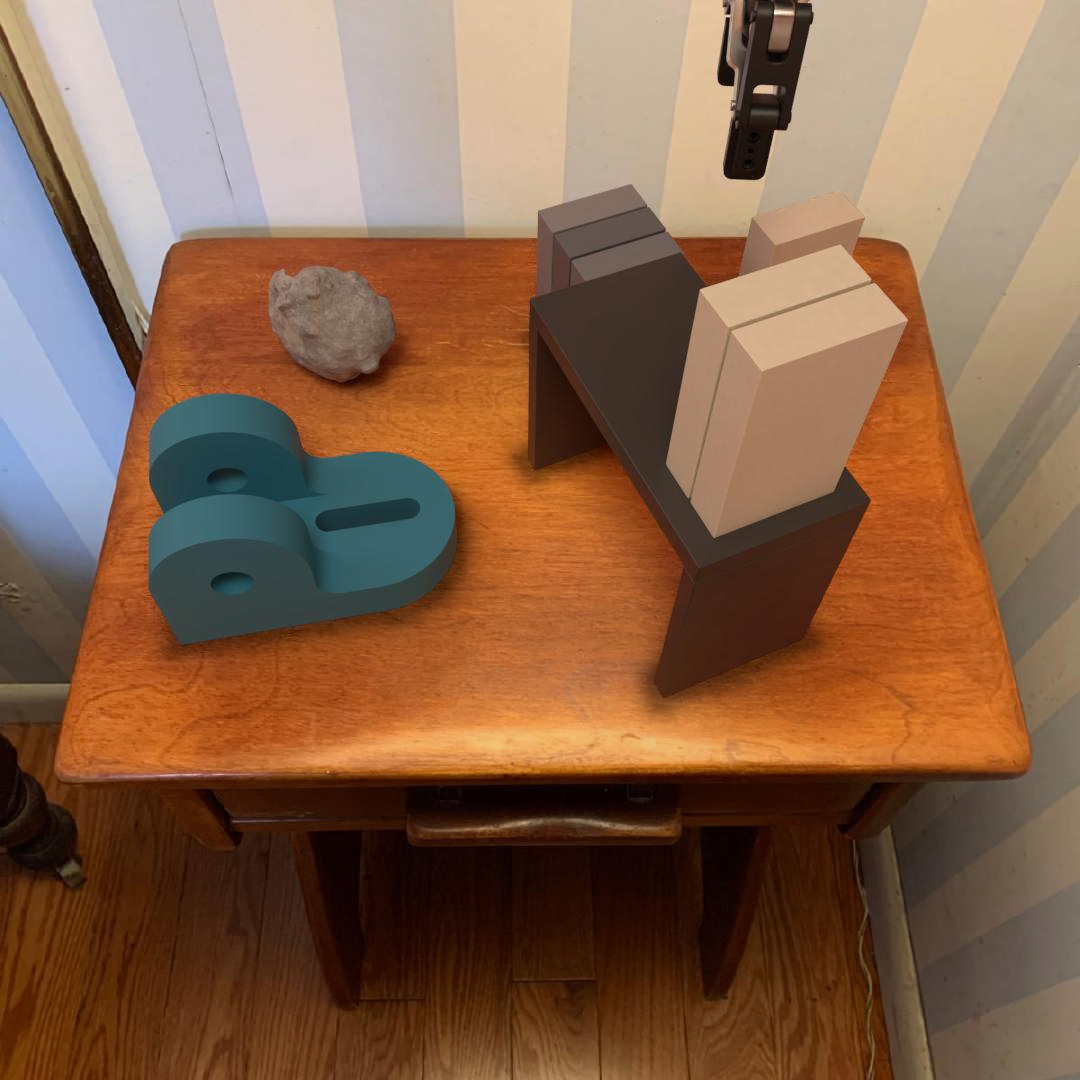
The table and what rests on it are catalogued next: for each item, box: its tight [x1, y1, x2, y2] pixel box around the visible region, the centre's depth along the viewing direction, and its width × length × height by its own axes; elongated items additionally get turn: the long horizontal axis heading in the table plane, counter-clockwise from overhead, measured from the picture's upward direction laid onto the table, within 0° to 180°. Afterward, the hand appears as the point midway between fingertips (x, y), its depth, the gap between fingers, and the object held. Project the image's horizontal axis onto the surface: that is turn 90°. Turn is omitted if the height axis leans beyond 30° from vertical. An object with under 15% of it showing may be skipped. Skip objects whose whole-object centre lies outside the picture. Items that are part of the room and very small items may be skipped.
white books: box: [666, 245, 909, 538], centre depth 47 cm, size 5×7×12 cm
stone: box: [267, 265, 397, 384], centre depth 72 cm, size 9×7×10 cm
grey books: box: [535, 183, 686, 297], centre depth 72 cm, size 8×7×12 cm
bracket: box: [147, 392, 458, 646], centre depth 63 cm, size 18×10×10 cm, turn 101°
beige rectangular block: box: [737, 189, 866, 277], centre depth 73 cm, size 3×7×12 cm, turn 114°
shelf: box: [527, 252, 872, 699], centre depth 62 cm, size 20×10×15 cm, turn 24°
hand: (738, 127), depth 57 cm, fingers open, 8 cm apart
